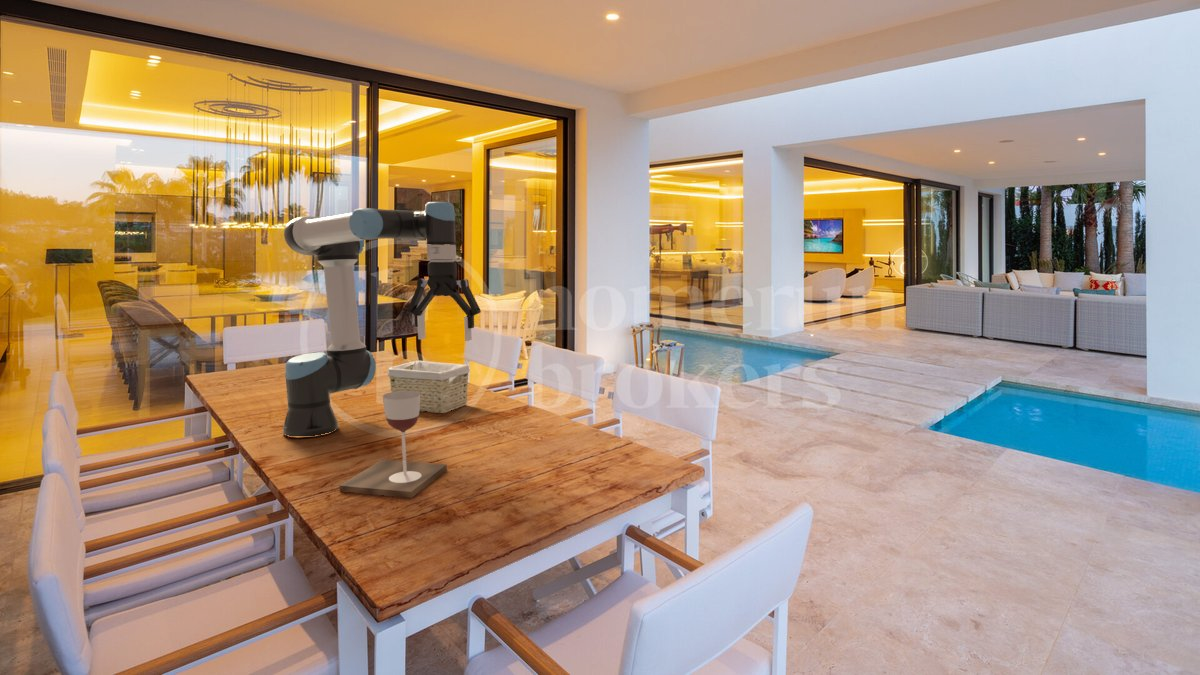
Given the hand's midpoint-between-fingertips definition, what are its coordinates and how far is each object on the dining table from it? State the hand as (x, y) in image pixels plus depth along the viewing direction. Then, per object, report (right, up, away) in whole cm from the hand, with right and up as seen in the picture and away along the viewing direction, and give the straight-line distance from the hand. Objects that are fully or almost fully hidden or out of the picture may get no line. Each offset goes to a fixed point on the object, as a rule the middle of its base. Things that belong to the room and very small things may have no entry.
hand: (444, 339), depth 170 cm
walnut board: (-7, -34, -19) cm, 40 cm away
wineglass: (-4, -33, -21) cm, 39 cm away
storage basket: (-17, -24, +49) cm, 57 cm away
